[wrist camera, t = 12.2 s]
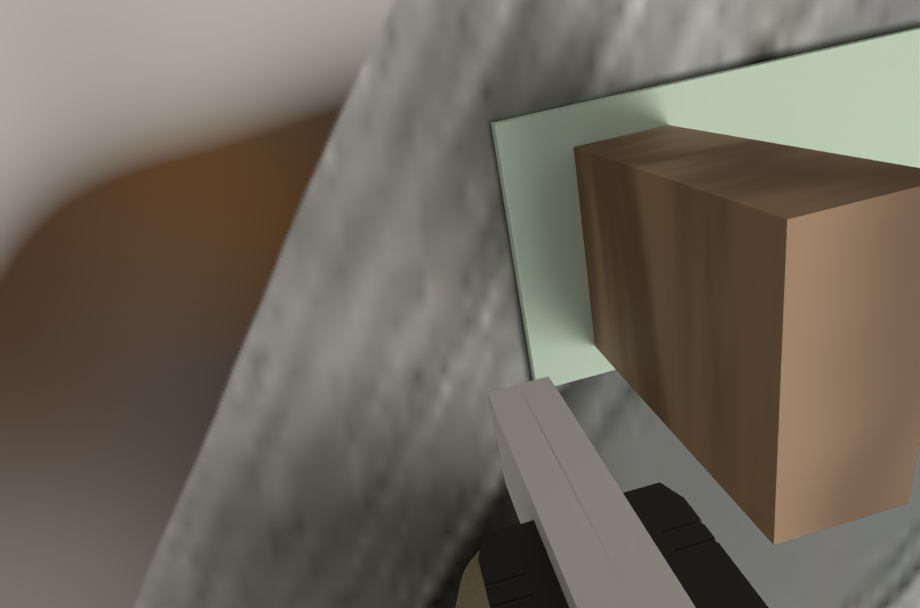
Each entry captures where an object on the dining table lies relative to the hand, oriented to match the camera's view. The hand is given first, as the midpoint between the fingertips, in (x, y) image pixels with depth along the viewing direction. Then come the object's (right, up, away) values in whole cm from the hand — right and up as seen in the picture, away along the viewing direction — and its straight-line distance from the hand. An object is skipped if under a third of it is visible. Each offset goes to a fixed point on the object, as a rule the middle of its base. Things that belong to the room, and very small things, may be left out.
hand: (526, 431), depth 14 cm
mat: (+10, +7, +12) cm, 17 cm away
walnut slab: (+6, +6, +11) cm, 13 cm away
